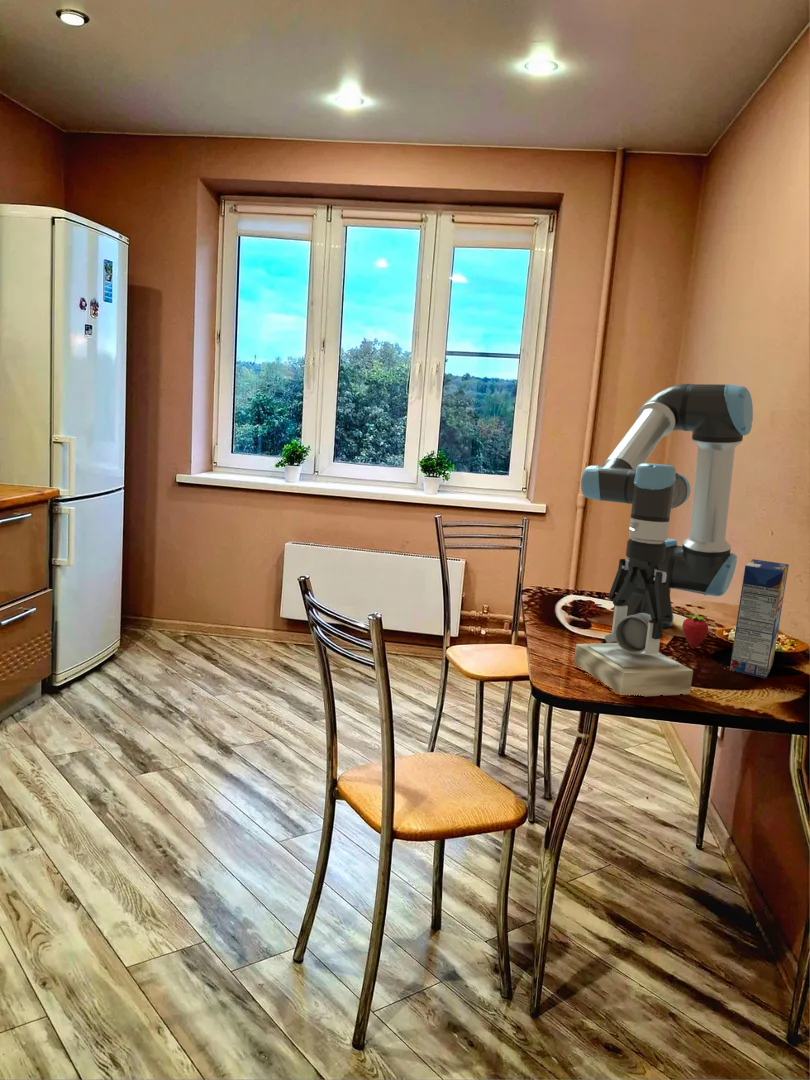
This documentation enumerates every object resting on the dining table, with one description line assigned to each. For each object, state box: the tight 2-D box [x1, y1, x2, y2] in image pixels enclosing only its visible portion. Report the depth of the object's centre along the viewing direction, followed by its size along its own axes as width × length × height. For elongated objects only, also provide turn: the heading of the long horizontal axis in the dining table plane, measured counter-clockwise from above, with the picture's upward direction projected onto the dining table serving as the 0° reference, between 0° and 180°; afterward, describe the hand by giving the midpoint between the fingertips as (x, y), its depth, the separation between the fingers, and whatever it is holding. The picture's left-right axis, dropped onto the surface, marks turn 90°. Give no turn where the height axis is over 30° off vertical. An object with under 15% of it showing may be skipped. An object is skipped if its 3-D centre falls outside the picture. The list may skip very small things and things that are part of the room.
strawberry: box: [681, 609, 709, 650], centre depth 176 cm, size 6×8×10 cm
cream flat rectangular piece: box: [573, 642, 694, 697], centre depth 150 cm, size 18×16×5 cm
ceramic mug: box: [604, 613, 652, 653], centre depth 150 cm, size 11×8×8 cm
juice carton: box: [729, 558, 790, 679], centre depth 163 cm, size 12×8×24 cm, turn 147°
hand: (633, 644), depth 149 cm, fingers closed on ceramic mug, 11 cm apart
